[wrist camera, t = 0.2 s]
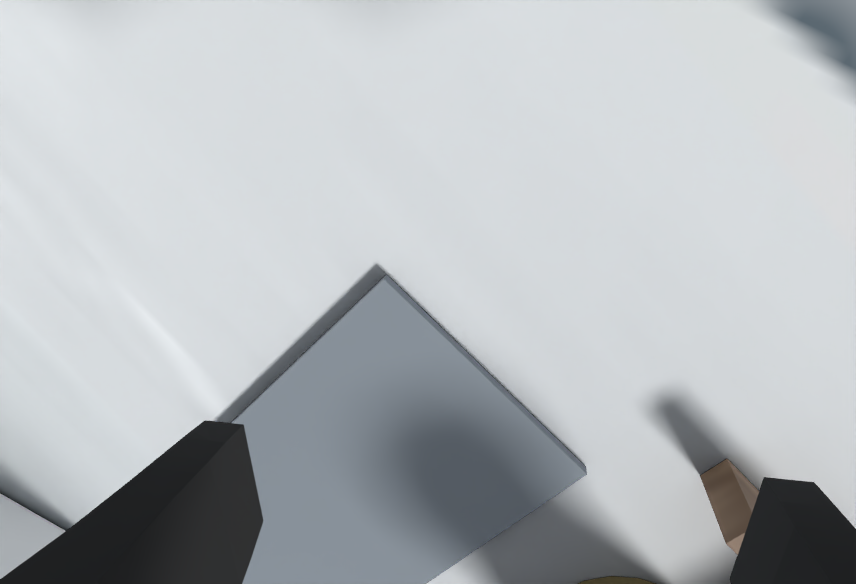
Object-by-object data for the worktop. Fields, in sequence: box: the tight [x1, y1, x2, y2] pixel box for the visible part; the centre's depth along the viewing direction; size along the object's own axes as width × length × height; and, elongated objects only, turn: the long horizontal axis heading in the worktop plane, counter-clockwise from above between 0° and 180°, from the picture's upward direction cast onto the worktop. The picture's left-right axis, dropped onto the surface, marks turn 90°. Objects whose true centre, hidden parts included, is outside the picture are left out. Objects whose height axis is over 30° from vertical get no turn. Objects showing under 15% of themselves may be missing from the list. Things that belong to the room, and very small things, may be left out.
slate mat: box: [231, 275, 587, 584], centre depth 23 cm, size 14×9×1 cm, turn 136°
